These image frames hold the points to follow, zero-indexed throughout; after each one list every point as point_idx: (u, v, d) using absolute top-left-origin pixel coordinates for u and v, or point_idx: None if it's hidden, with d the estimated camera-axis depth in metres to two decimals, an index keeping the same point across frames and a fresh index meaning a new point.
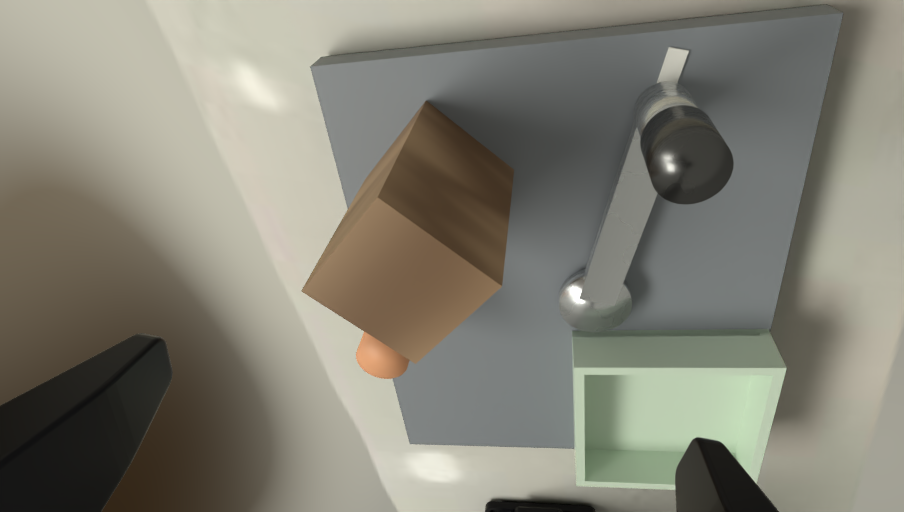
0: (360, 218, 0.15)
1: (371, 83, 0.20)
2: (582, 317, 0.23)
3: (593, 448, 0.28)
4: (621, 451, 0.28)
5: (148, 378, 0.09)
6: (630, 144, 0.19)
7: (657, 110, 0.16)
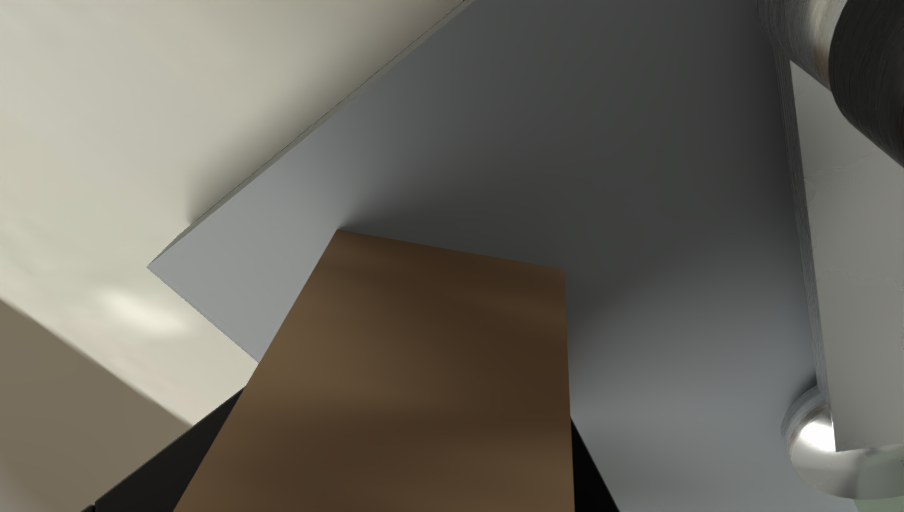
0: None
1: (240, 247, 0.11)
2: (862, 478, 0.10)
3: None
4: None
5: None
6: (794, 108, 0.07)
7: None
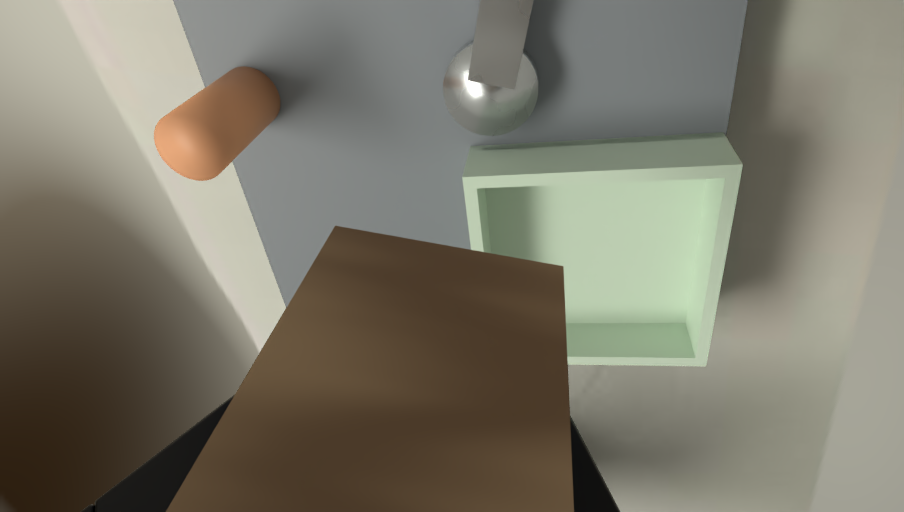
0: None
1: None
2: (475, 111, 0.17)
3: None
4: None
5: None
6: None
7: None
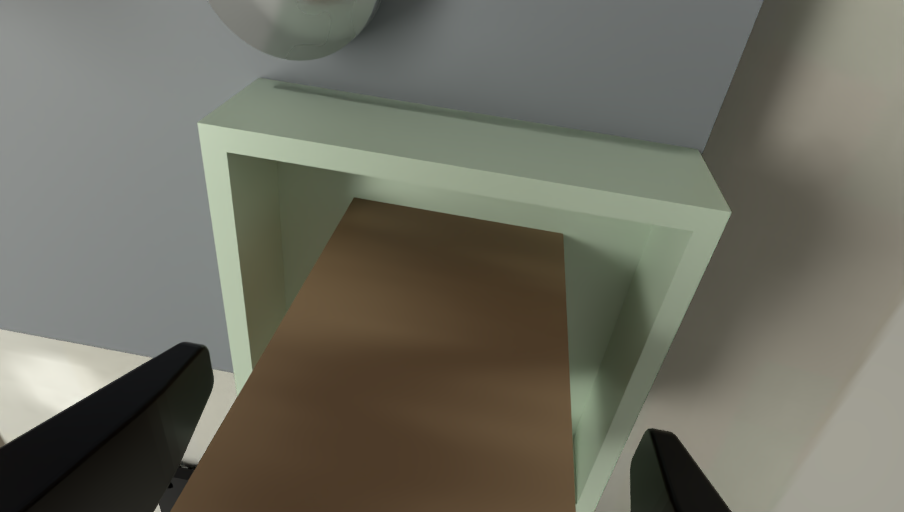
0: None
1: None
2: (252, 0, 0.09)
3: None
4: None
5: (193, 387, 0.09)
6: None
7: None
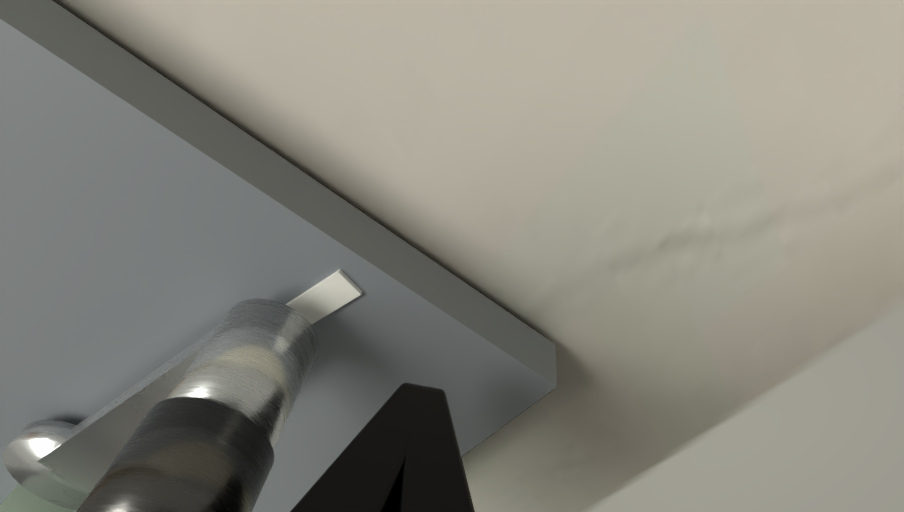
0: None
1: None
2: (35, 479, 0.14)
3: None
4: None
5: None
6: (197, 349, 0.11)
7: (210, 381, 0.09)
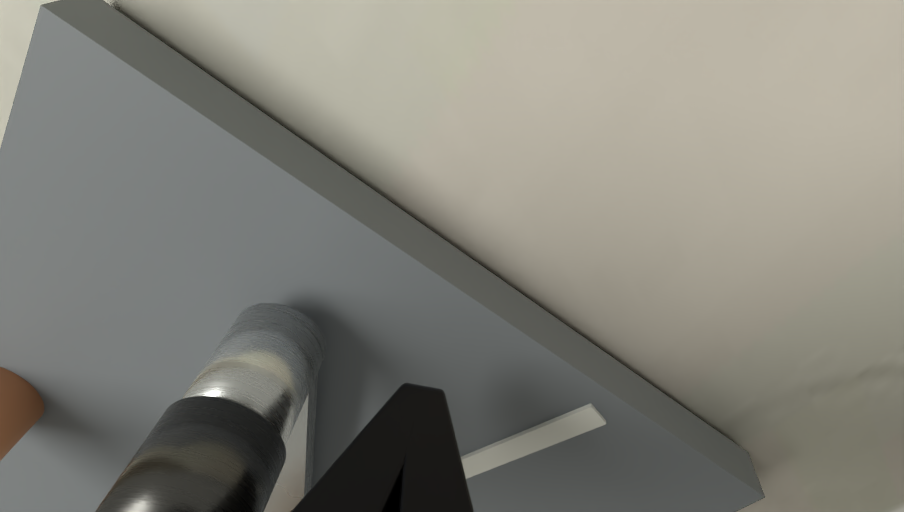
0: None
1: (148, 125, 0.09)
2: None
3: None
4: None
5: None
6: None
7: (191, 387, 0.09)
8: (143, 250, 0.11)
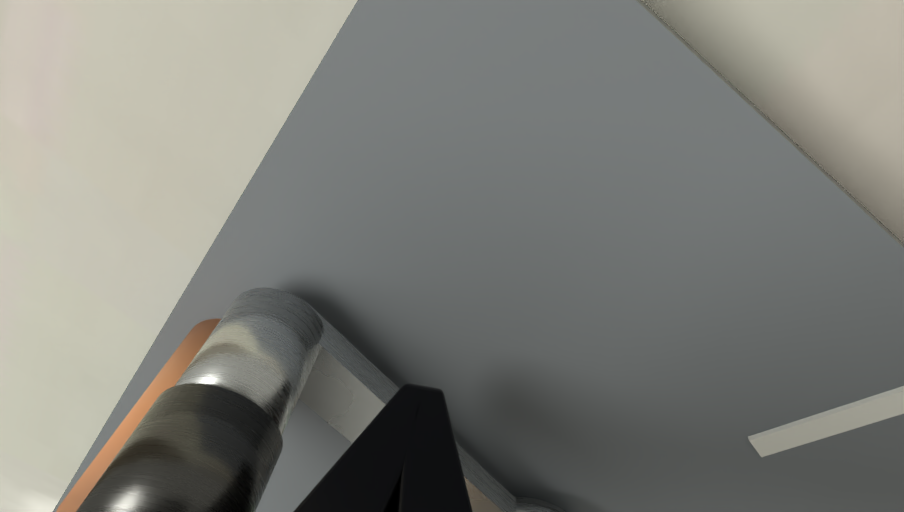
0: None
1: (544, 5, 0.08)
2: None
3: None
4: None
5: None
6: None
7: None
8: (474, 174, 0.09)
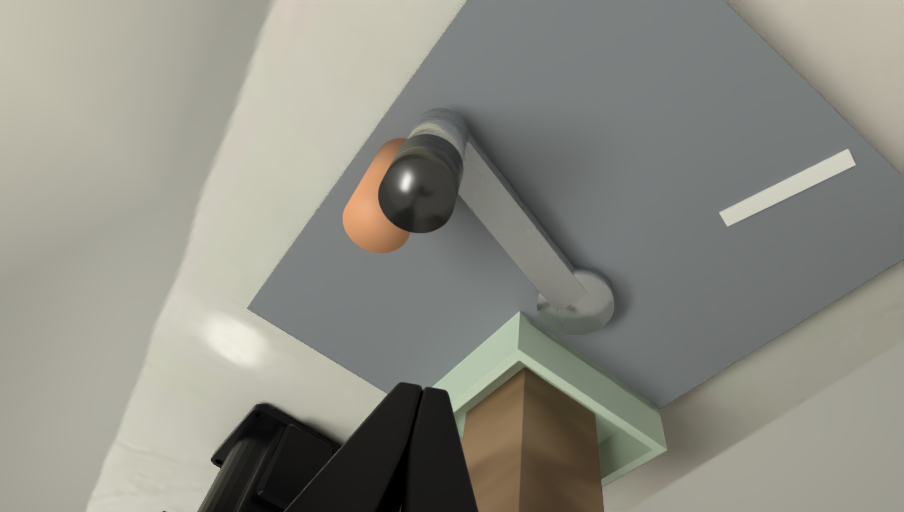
0: None
1: None
2: (577, 322, 0.21)
3: None
4: None
5: None
6: None
7: None
8: (566, 34, 0.17)
